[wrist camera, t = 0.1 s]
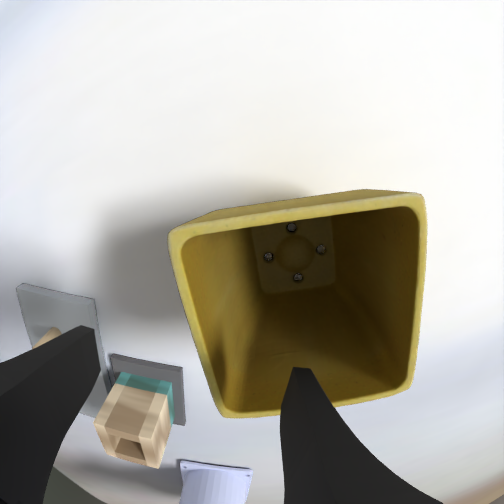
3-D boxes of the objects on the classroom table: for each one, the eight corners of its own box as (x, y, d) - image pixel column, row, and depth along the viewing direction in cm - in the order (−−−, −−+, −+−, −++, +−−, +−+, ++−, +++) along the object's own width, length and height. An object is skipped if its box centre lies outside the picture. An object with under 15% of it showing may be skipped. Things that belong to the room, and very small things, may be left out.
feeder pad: (185, 421, 25) (184, 425, 24) (125, 408, 25) (123, 412, 24) (182, 367, 22) (180, 372, 22) (113, 353, 22) (110, 357, 22)
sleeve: (174, 415, 24) (158, 468, 18) (129, 405, 24) (106, 454, 18) (171, 382, 22) (151, 439, 17) (121, 371, 22) (93, 422, 17)
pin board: (120, 418, 25) (107, 446, 22) (57, 397, 26) (41, 420, 22) (94, 299, 21) (67, 326, 17) (22, 283, 21) (-6, 303, 17)
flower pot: (209, 190, 18) (160, 230, 9) (355, 169, 17) (429, 192, 9) (236, 319, 21) (220, 420, 12) (363, 301, 20) (411, 391, 11)
